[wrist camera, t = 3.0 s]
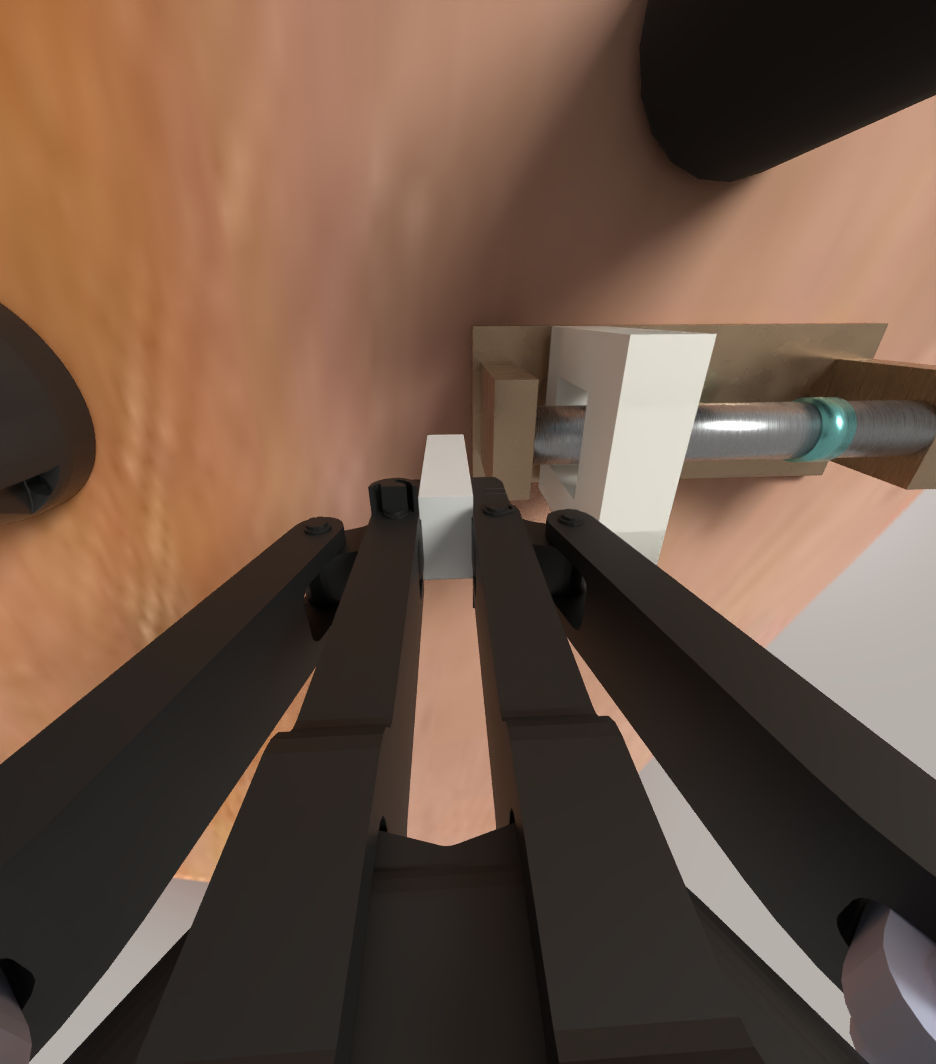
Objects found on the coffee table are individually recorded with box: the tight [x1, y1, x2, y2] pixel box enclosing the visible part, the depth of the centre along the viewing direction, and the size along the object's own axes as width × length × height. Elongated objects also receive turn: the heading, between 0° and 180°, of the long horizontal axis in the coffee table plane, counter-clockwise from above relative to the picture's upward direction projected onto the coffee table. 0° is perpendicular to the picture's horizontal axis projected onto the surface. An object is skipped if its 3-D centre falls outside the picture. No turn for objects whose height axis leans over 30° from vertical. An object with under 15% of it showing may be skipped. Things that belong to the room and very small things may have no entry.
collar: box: [538, 326, 717, 565], centre depth 21 cm, size 3×10×11 cm, turn 0°
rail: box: [472, 323, 936, 501], centre depth 24 cm, size 26×10×9 cm, turn 90°
